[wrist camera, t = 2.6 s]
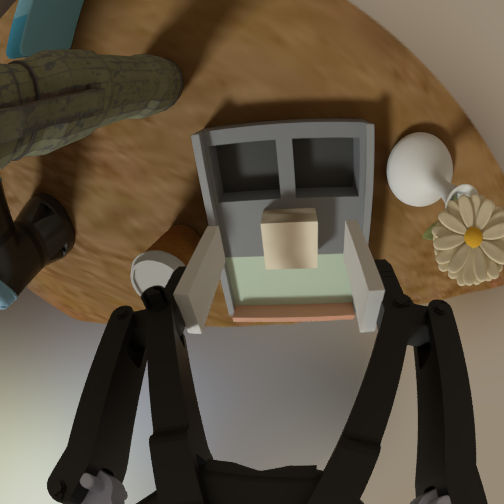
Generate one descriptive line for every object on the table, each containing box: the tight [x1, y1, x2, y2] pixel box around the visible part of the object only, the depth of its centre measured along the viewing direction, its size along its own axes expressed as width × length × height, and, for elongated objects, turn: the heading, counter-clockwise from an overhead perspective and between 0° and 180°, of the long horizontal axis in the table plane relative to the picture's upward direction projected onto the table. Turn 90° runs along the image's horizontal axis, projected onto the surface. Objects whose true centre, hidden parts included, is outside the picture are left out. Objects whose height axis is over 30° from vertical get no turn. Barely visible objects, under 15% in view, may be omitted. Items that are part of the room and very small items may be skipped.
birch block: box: [261, 208, 318, 270], centre depth 37 cm, size 7×7×4 cm
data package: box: [6, 0, 84, 59], centre depth 21 cm, size 12×4×12 cm, turn 164°
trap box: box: [191, 118, 374, 322], centre depth 39 cm, size 22×30×7 cm
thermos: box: [0, 49, 183, 169], centre depth 18 cm, size 9×12×35 cm
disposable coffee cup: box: [131, 224, 201, 296], centre depth 42 cm, size 10×10×12 cm
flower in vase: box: [387, 132, 504, 286], centre depth 25 cm, size 13×11×25 cm
